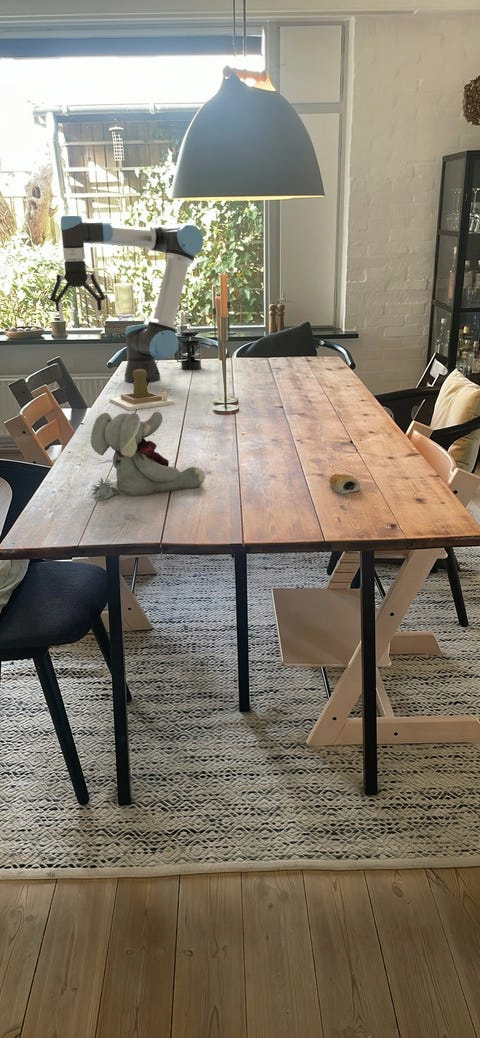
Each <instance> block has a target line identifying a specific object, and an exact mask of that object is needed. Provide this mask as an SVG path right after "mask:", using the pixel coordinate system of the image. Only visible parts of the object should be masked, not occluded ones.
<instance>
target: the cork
mask: <svg viewBox="0 0 480 1038" xmlns="http://www.w3.org/2000/svg"><path fill="white" fill-rule="evenodd" d="M146 377H147V372H146V371H145V370H143V369H137V370H134V371H133V378H134V382H133V393H134V394H133V398H134V399H138V398H145V397H149V394H148V391H149V389H148V385H147V383H148V382H146Z"/></svg>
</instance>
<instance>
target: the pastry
mask: <svg viewBox="0 0 480 1038" xmlns="http://www.w3.org/2000/svg"><path fill="white" fill-rule="evenodd" d="M329 485H330V488H331V489H332V490H333V491H334V493H336V494H338V495H339V494H343V495H344V494H349V493H356V492H358V491H359V490H360V489H361V484H360V481H359V480H358V479H357V478H356V477H355V476H353V475H350V474H345V473H343V474H341V473H340V474H338V473H335V474H333V475H332V476H330V477H329Z"/></svg>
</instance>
